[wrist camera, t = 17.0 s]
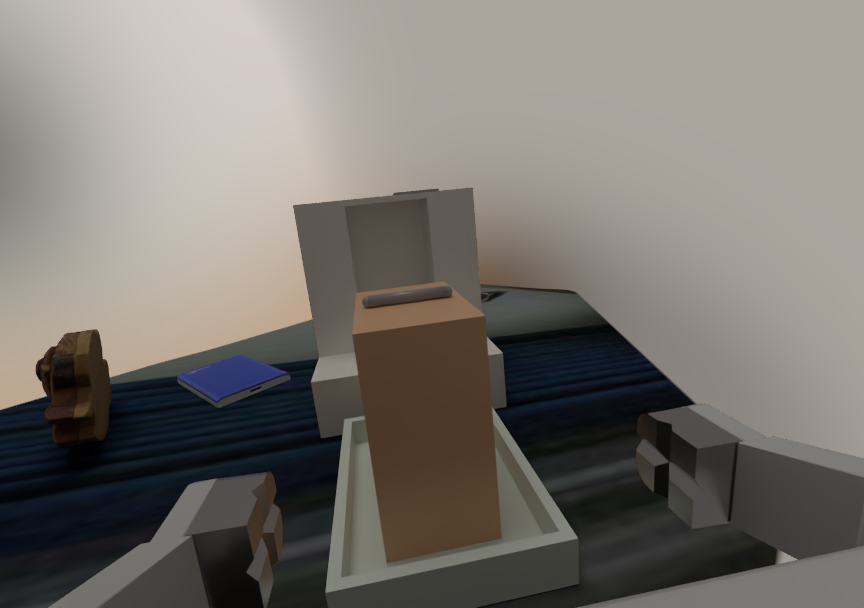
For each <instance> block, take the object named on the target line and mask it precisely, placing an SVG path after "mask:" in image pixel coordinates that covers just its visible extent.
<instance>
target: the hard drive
mask: <svg viewBox="0 0 864 608" xmlns="http://www.w3.org/2000/svg"><path fill="white" fill-rule="evenodd" d="M177 379H178V383H179V384H180V385H182V386H184V387H185V388H187V389H188V390H190V391H192V392H193V393H195V394H196V395H198V396H200V397H201V398H203V399H205V400H206V401H208V402H209V403H211V404H213V405H214V406H216V407H217V408H220V407H222V406H225V405H227V404H230V403H232V402H235V401H237V400H240V399H242V398H245V397H247V396H250V395H252V394H255V393H257V392H260V391H262V390H265V389H267V388H270V387H272V386H275V385H278V384H280V383H283V382H285V381H288V380H290V374H289V373H287V372H285V371H282V370H279V369H276V368H274V367H271V366H269V365H266V364H264V363H261V362H258V361H256V360H253V359H251V358H248V357H246V356H243V355H239V356H235V357H232V358H229V359H226V360H223V361H220V362H217V363H214V364H211V365H208V366H204V367H201V368H198V369H195V370H192V371H189V372H186V373H183V374H180V375H179V376H178V377H177Z"/></svg>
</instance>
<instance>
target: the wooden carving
mask: <svg viewBox="0 0 864 608" xmlns="http://www.w3.org/2000/svg"><path fill="white" fill-rule="evenodd" d="M36 375H37V377H38V378H39V380H40V381H42V385H43V389H44V391H45V392H46V394H47V396H48V397H49V398H50V399H52V403H51V404H50V405H49V407H48V408H47V409H46V411H45V414H44V418H45V421H46V423H47V424H54V426H53V439H54V442H55V444H56V445H57V446H59V447H68V446H72V445H77V444H82V443H89V442H95V441H101V440H104V438H105V436H106V434H107V429H108V422H109V405H110V404H111V388H110V377H109V369H108V363H107V361H106V360H105V359H103V357H102V346H101V340H100V335H99V332H98V330H87V331H81V332H76V333H67V334H65V335H64V337H63V338H62V339H61V340H60V342H59V343H58V345H57V346H55V347H51V348H50V349H49V350H48V351H47V352H46V354H45V355H44V358H42V359H41V360H39V361H38V362H37V364H36Z"/></svg>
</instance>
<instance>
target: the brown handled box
mask: <svg viewBox="0 0 864 608" xmlns="http://www.w3.org/2000/svg"><path fill="white" fill-rule="evenodd" d="M352 337H353V344H354V350H355V357H356V363H357V370H358V377H359V383H360V390H361V397H362V403H363V410H364V417H365V423H366V430H367V437H368V443H369V450H370V456H371V463H372V470H373V476H374V483H375V490H376V496H377V503H378V510H379V516H380V523H381V529H382V536H383V543H384V549H385V556H386V563H390V562H395V561H400V560H404V559H409V558H413V557H418V556H423V555H427V554H432V553H437V552H441V551H446V550H451V549H455V548H460V547H464V546H469V545H474V544H478V543H483V542H488V541H492V540H497V539H502V534H501V520H500V507H499V493H498V480H497V467H496V453H495V440H494V426H493V413H492V399H491V386H490V373H489V359H488V346H487V332H486V319H485V315H484V314H483V313H481V312H480V311H479V310H478V309H477V308H475V307H474V306H473V305H472V304H471V303H469V302H468V301H467V300H466V299H465V298H463V297H462V296H461V295H460V294H459V293H457V292H456V291H455V290H454V289H453V288H451V287H450V286H449V285H448V284H447V283H445V282H437V283H429V284H421V285H414V286H406V287H398V288H390V289H382V290H375V291H367V292H359V293H356V300H355V310H354V321H353V331H352Z"/></svg>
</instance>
